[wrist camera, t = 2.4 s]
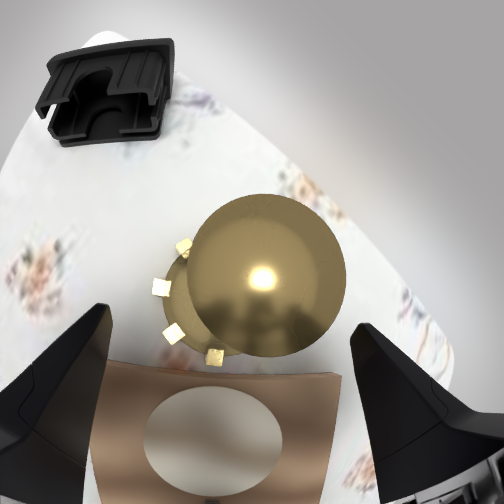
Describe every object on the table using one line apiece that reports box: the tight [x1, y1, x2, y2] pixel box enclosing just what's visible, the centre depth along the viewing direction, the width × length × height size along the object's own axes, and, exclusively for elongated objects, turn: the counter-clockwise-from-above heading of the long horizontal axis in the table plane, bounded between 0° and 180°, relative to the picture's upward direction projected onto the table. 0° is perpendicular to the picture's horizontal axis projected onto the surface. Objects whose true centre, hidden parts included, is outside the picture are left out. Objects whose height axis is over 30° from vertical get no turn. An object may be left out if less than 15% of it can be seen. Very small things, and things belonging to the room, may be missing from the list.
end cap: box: [35, 38, 175, 147], centre depth 16 cm, size 10×7×7 cm
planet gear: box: [152, 194, 346, 367], centre depth 12 cm, size 8×8×12 cm
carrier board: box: [89, 360, 342, 504], centre depth 14 cm, size 20×17×2 cm
